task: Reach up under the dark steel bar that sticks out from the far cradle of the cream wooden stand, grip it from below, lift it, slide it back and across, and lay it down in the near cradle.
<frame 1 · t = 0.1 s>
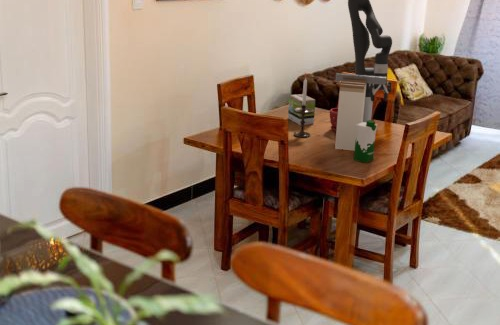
hand: (379, 100, 382), 17 cm above the table, tool pointing down, fingers open, 8 cm apart
plant pot: (340, 130, 385), on the table
candlestick: (301, 135, 372), on the table
tea box: (300, 121, 400), on the table
stand: (348, 143, 361), on the table
steel bar: (360, 82, 356), point 32 cm above the table, touching stand
milk carton: (363, 160, 335), on the table
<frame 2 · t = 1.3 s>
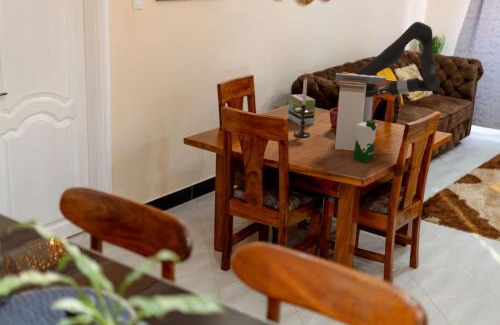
hand: (369, 92, 361), 26 cm above the table, tool tilted 75°, fingers open, 8 cm apart
nothing on the table moved.
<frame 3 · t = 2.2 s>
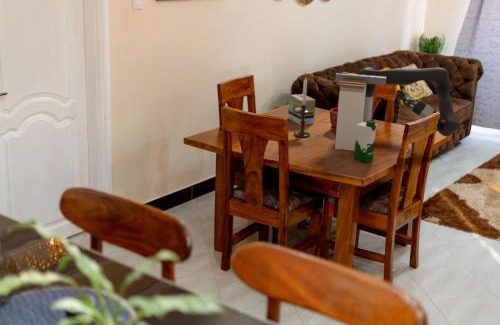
hand: (396, 92, 354), 28 cm above the table, tool pointing upward, fingers open, 8 cm apart
nothing on the table moved.
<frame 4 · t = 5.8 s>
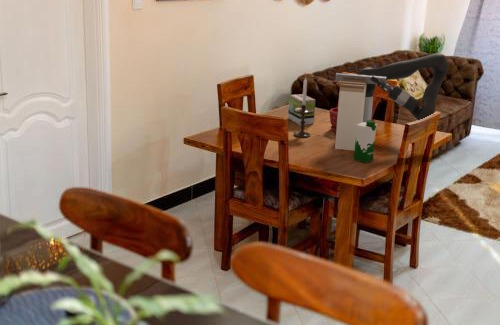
hand: (371, 77, 354), 35 cm above the table, tool pointing upward, fingers closed on steel bar, 3 cm apart
steel bar: (360, 82, 356), point 32 cm above the table, touching gripper, stand
everything else where it was.
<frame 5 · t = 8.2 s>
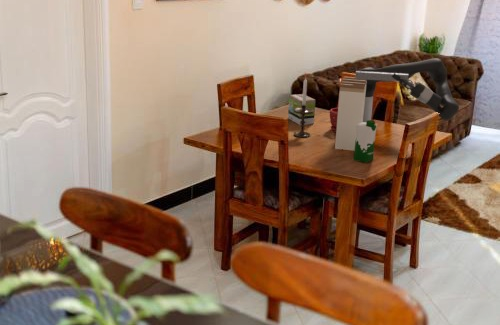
hand: (393, 74, 342), 39 cm above the table, tool pointing upward, fingers closed on steel bar, 3 cm apart
steel bar: (381, 79, 344), point 36 cm above the table, touching gripper
everything else where it was.
when the fingers open (36 cm above the table, at t = 11.0 s): steel bar drops 1 cm, resting on stand.
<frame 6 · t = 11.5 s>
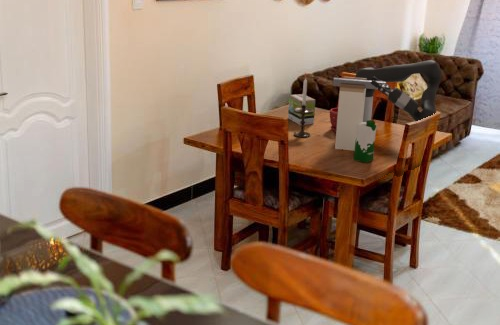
hand: (372, 79, 341), 36 cm above the table, tool pointing upward, fingers open, 8 cm apart
steel bar: (358, 87, 344), point 32 cm above the table, touching stand
everything else where it was.
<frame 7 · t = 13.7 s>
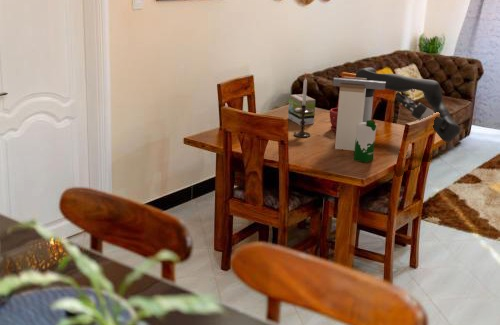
hand: (396, 95, 341), 29 cm above the table, tool pointing upward, fingers open, 8 cm apart
nothing on the table moved.
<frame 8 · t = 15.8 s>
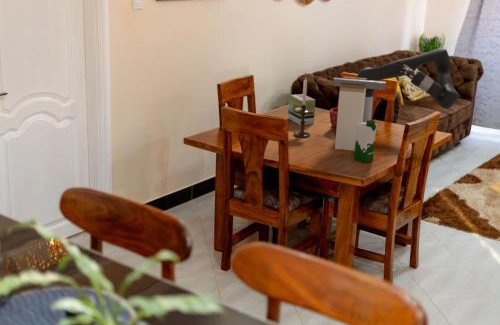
hand: (396, 63, 350), 43 cm above the table, tool pointing upward, fingers open, 8 cm apart
nothing on the table moved.
at the end: steel bar inside the target area (0.2 cm from its centre), point 32.0 cm above the table; steel bar tilted 0°; the gripper is holding nothing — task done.
